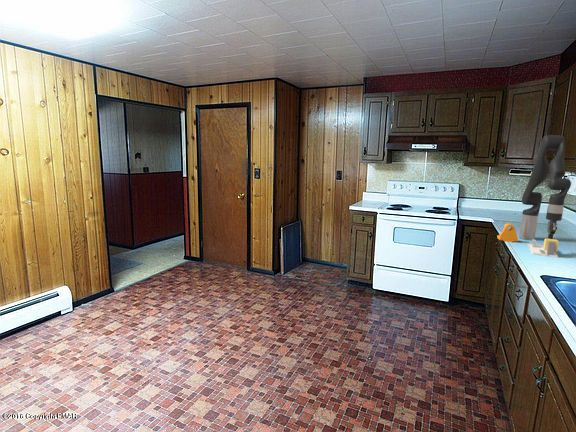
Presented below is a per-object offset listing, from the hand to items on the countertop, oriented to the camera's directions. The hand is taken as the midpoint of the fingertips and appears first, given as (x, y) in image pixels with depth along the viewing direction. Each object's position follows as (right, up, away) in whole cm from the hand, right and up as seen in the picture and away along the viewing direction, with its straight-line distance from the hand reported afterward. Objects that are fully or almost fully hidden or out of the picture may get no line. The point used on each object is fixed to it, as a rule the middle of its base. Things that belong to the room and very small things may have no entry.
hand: (549, 240), depth 208 cm
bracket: (-6, -3, +31) cm, 32 cm away
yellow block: (-2, -6, -3) cm, 6 cm away
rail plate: (-1, -7, +6) cm, 9 cm away
